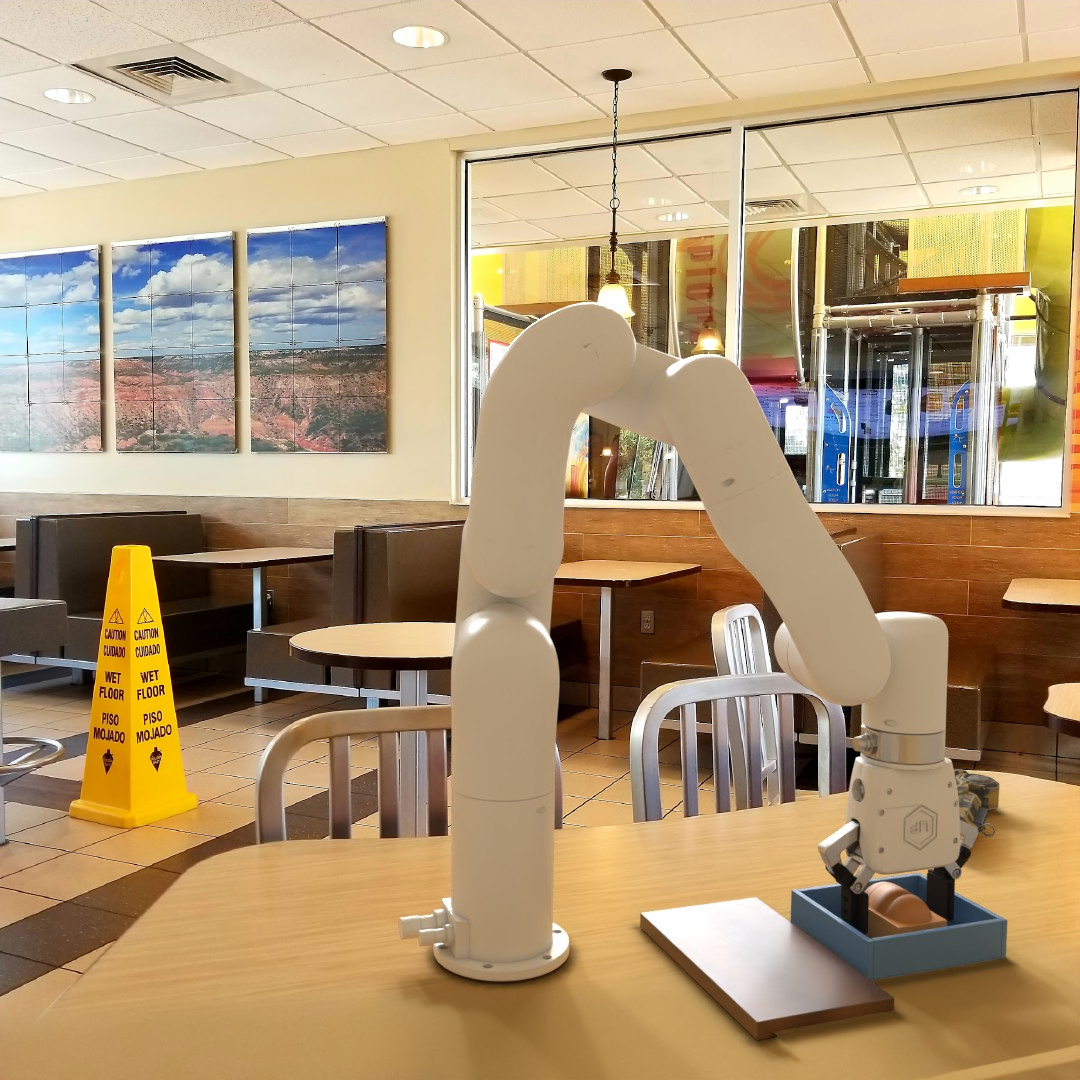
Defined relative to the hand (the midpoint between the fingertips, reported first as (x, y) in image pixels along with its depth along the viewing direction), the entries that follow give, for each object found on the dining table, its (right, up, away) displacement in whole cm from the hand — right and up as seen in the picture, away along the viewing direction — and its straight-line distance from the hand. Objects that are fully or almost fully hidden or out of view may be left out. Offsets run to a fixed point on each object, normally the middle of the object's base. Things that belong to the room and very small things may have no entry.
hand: (897, 922), depth 102 cm
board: (-14, -2, -5) cm, 15 cm away
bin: (0, -2, 0) cm, 2 cm away
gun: (+18, 0, +38) cm, 42 cm away
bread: (0, -2, 0) cm, 2 cm away
